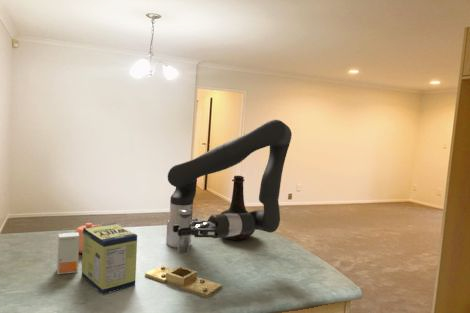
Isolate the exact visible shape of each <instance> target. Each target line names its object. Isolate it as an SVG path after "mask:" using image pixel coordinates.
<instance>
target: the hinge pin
mask: <svg viewBox="0 0 470 313" xmlns="http://www.w3.org/2000/svg"><path fill="white" fill-rule="evenodd" d="M193 211H194V210H191V209H179V210H178V214H179V215H180V217H179V228H188V227H189V228H190V220H191V215H192V212H193ZM193 213H194V212H193ZM192 216H193V215H192ZM189 241H190V235H185V236H179V239H178V248H177V253H178V254H181V255H182V254H183V255H184V254H189V253H190V246H189Z"/></svg>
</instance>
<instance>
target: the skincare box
mask: <svg viewBox="0 0 470 313" xmlns="http://www.w3.org/2000/svg"><path fill="white" fill-rule="evenodd" d="M79 254H80V253H79V232H76V233H75V232H63V233H58V234H57V258H56V275H64V274H73V273H74V274H75V273H78V271H79Z"/></svg>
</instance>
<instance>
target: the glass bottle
mask: <svg viewBox="0 0 470 313" xmlns="http://www.w3.org/2000/svg"><path fill="white" fill-rule="evenodd" d="M231 181H232V182H233V188H232V194H231V201H230V206H229V208H228V209H226V210H224V211H222V212H221V213H220V214H229V213H232V214H237V213H248V212H249V211H248V210H247V208H246V205H245V198H244V182H245V177H244V176H242V175H234V176H233V179H232V180H231ZM255 231H256V230H253V231H252V232H250V233H247V234H239V235H235V236H230V237H224V238H226V239H228V240H231V241H232V240H234V241H241V240H247V239H249V238H250V237H252V235H253V234H254V233H255Z"/></svg>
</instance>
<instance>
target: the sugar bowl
mask: <svg viewBox="0 0 470 313" xmlns="http://www.w3.org/2000/svg"><path fill="white" fill-rule="evenodd" d="M100 225H101V224H95V225H94V224H93V223H92V222H86V223H85V225H80V226H79V227H77V228H76V229H75V231H74V233H76V232H79V254H82V252H83V228H86V227H93V226H100Z"/></svg>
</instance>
